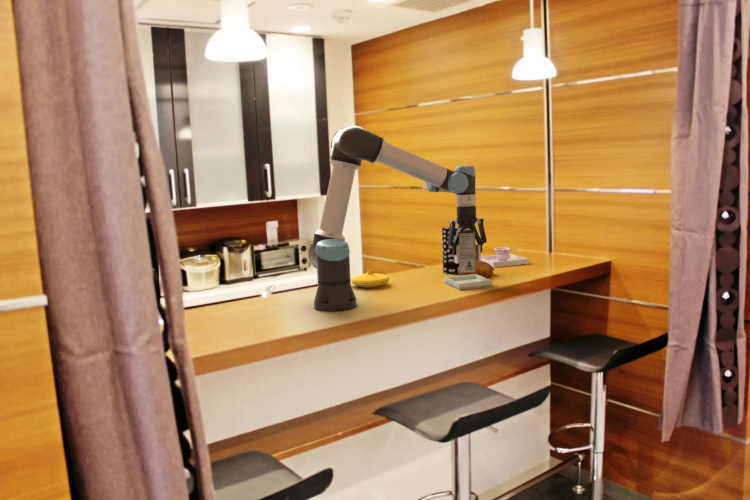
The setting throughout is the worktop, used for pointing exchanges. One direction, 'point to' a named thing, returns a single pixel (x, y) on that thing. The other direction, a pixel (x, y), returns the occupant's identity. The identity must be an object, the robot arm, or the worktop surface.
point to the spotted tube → (448, 253)
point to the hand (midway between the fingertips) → (467, 261)
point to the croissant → (480, 269)
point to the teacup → (502, 254)
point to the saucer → (517, 261)
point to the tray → (468, 281)
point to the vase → (370, 279)
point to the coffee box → (467, 251)
